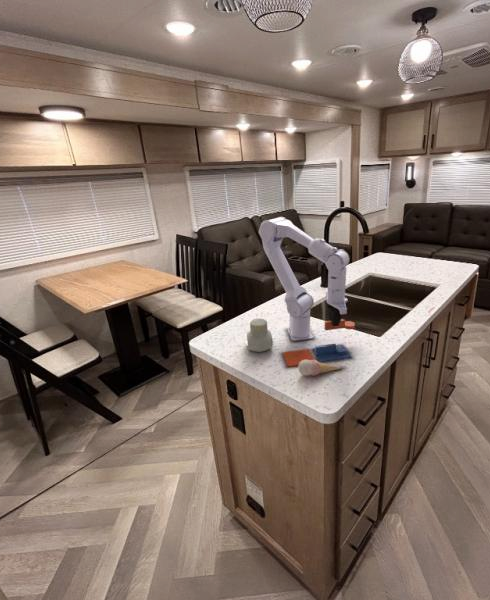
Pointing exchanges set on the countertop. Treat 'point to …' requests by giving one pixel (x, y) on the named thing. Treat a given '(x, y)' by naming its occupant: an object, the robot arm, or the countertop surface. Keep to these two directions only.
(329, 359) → the blue mat
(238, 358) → the countertop surface
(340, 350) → the blue spoon
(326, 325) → the terracotta spoon
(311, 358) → the terracotta mat
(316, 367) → the ice cream cone
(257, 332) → the air freshener
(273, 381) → the countertop surface
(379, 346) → the countertop surface
